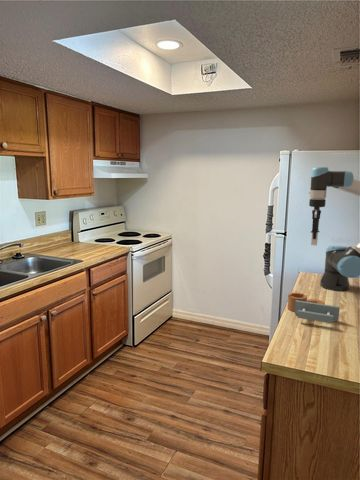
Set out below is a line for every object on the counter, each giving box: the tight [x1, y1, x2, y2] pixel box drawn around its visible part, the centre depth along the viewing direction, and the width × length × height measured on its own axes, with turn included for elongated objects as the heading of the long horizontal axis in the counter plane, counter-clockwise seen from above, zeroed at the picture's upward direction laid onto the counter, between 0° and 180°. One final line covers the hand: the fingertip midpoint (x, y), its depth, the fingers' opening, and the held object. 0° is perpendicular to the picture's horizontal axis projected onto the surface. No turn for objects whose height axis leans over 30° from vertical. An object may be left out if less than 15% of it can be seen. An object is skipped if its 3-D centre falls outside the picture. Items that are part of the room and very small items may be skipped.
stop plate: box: [294, 300, 341, 324], centre depth 155 cm, size 9×18×6 cm, turn 65°
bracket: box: [287, 292, 326, 313], centre depth 170 cm, size 18×8×7 cm, turn 104°
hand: (314, 244), depth 184 cm, fingers closed
